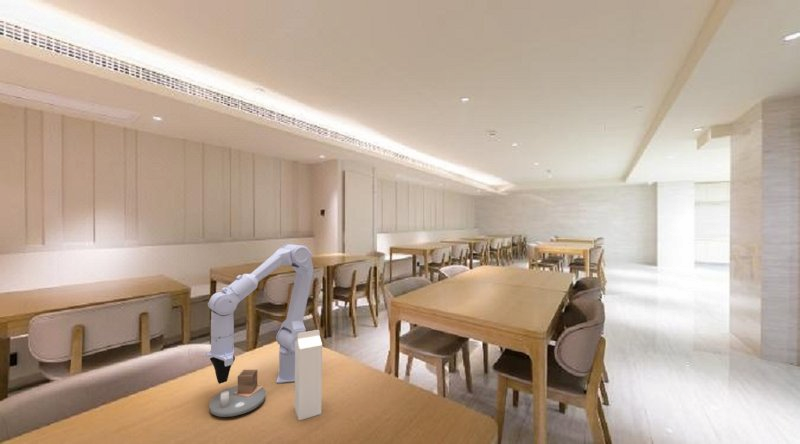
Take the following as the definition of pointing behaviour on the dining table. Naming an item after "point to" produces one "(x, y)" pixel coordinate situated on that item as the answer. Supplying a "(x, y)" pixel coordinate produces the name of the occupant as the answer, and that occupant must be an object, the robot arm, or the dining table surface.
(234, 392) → the turntable
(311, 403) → the milk
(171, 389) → the dining table surface
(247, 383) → the walnut block
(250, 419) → the dining table surface
